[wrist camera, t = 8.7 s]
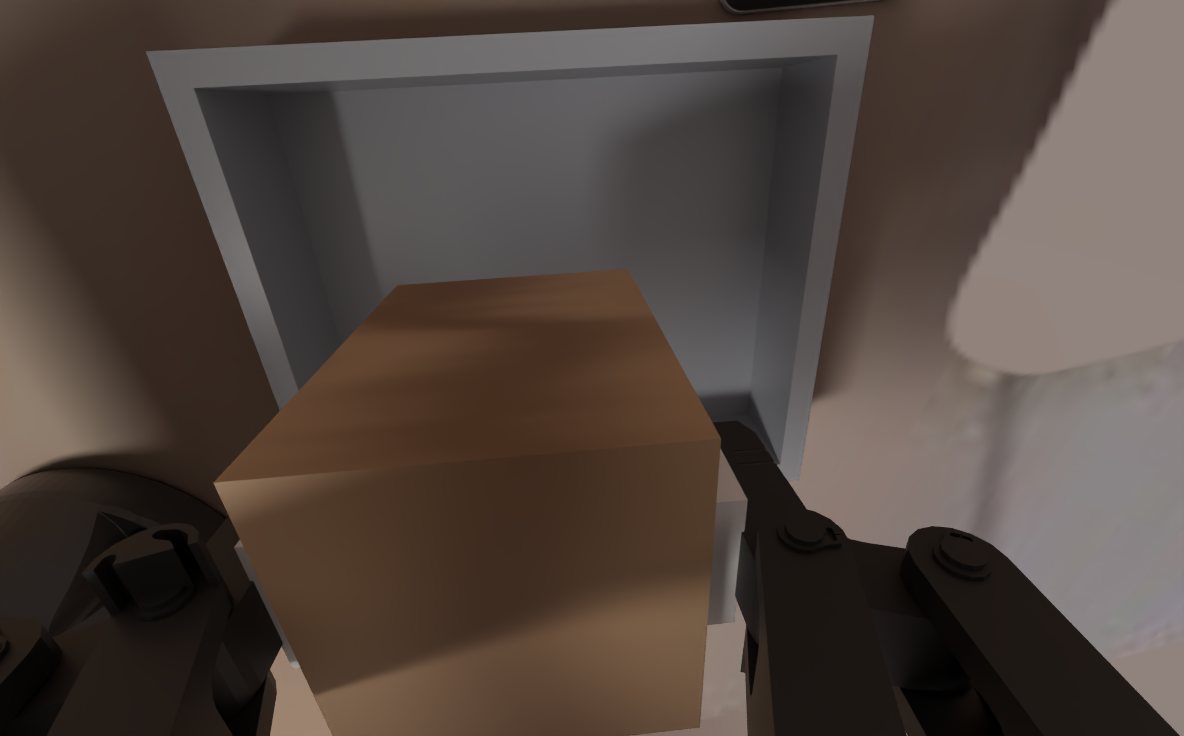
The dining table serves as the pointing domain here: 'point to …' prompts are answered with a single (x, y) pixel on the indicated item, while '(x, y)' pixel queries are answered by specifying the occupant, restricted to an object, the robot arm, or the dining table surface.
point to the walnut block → (491, 515)
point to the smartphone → (778, 5)
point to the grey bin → (540, 184)
